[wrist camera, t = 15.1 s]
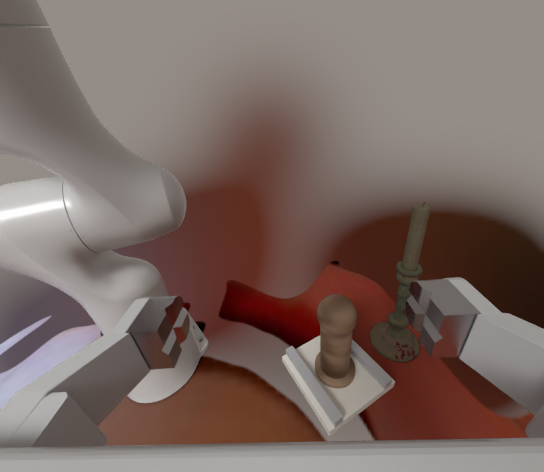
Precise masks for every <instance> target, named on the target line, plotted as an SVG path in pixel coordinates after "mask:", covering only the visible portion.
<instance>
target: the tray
mask: <svg viewBox="0 0 544 472" xmlns="http://www.w3.org/2000/svg"><path fill="white" fill-rule="evenodd" d="M319 352H320V336H318V337H316V338H314V339H313V340H311V341H309V342H307V343H305V344H304V345H302V346H300V347H298V348H297V349H294V347H293V346H291V347H289V348H287V349H286V355H284V356H282V362H283V363H284V365H285V367H286V368H287V370H288V371H289V373H290V375H291V376H292V378H293V379H294V381H295V383H296V384H297V386H298V387H299V389H300V391H301V392H302V394H303V395H304V397H305V399H306V400H307V402H308V403H309V405H310V406H311V408H312V410H313V411H314V413H315V415H316V416H317V418H318V419H319V421H320V422H321V424H322V426H323V427H324V429H325V430H326V432H327V434H328V435H329V436H331V435H332V434H333V433H335V432H336V431H337V430H339V429H340V428H341V427H342V426H344V425H345V424H346V423H348V422H349V421H350V420H351V419H353V418H354V417H355V416H357V415H358V414H359V413H361V412H362V411H363V410H364V409H366V408H367V407H368V406H370V405H371V404H372V403H373V402H375V401H376V400H377V399H379V398H380V397H381V396H382V395H384V394H385V393H386V392H388V391H389V390H390V389H392V388H393V387H394V384H395V381H394V380H393V379H392V378H391V377H390V376H389V375H388V374H387V373H386V372H385V371H384V370H383V369H382V368H381V367H380V366H379V365H378V364H377V363H376V362H375V361H374V360H373V359H372V358H371V357H370V356H369V355H368V354H367V353H366V352H365V351H364V350H363V349H362V348H361V347H360V346H359V345H358V344H357V343H356V342H355V341H354V340H353V339H352V344H351V355H350V357H351V358H352V359H353V361H354V364H355V377H354V380H353V381H352V383H351V384H350V385H348V386H347V387H344V388H339V389H338V388H332V387H329V386H327V385H325V384H324V383H323V382H322V381H321V380H320V379H319V378H318V376H317V374H316V371H315V359H316V356H317V354H318V353H319Z"/></svg>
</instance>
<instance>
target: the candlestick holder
mask: <svg viewBox="0 0 544 472" xmlns="http://www.w3.org/2000/svg"><path fill="white" fill-rule="evenodd" d="M430 208H431V207H430V206H428V205H425V202H424V203H423V204H416V205H414V206H413V211H412V216H411V221H410V226H409V232H408V237H407V242H406V247H405V252H404V258H403V261H400V262H398V264H397V266H396V267H397V270H398V273H397V275H396V278H397V280H398V281H399V282H400V283H401V284H400V285H399V289H398V291H397V295H398V300H397V304H396V311H395V312H392V313H390V314H389V315H388V320H389V322H380V323H378V324H376V325H374V326H373V327H372V329H371V331H370V341H371V344H372V345H373V347H374V348H375V349H376V350H377V351H378V353H380V354H381V355H383V356H384V357H386V358H388V359H390V360H393V361H397V362H407V361H411V360H413V359H415V358H416V357H417V356H418V354H419V351H420V346H419V342H418V340H417V338H416V336H415V335H414V334H413V333H412V332H411V331H410V330H409V329H407V328H406V326H407V325H408V323H409V321H408V318H407V317H406V316H405V315H404V310H405V306H406V300H407V299H408V298H409V297H410V291H409V287H410V284H411V282H412V281H418V275H420V274H421V273H422V267H421V266H420V265H419V264H418V260H419V256H420V252H421V247H422V243H423V239H424V234H425V230H426V226H427V221H428V217H429V213H430Z"/></svg>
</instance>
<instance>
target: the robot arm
mask: <svg viewBox="0 0 544 472" xmlns="http://www.w3.org/2000/svg"><path fill="white" fill-rule="evenodd" d="M31 26H32V27H31ZM34 26H48V23H47V21H46V19H45V17H44V14H43V12H42V10H41V8H40V6H39V4H38V2H37V0H0V153H2V154H7V155H11V156H16V157H19V158H22V159H25V160H28V161H31V162H33V163H36V164H38V165H40V166H42V167H44V168H46V169H48V170H49V171H51V172H53V173H54V174H56V175H57V176H54V177H48V178H41V179H35V180H28V181H22V182H15V183H9V184H5V185H2V186H0V270H4V271H9V272H14V273H19V274H23V275H26V276H30V277H32V278H35V279H38V280H41V281H43V282H45V283H48V284H50V285H52V286H54V287H56V288H58V289H60V290H62V291H63V292H65V293H67V294H68V295H70V296H72V297H73V298H74V299H75V300H77V301H78V302H79V303H80V304H81V305H82V306H83V307H84V308H85V310H86V311H87V312H88V314H89V315H90V316H91V318H92V319H93V320H94V322H95V323H96V325H97V326H98V327H99V329H100V330H101V337H100V338H99V339H97V340H96V341H94V342H93V343H91V344H90V345H88V346H87V347H85V348H84V349H82V350H81V351H79V352H77V353H76V354H74V355H73V356H71V357H70V358H68V359H67V360H65V361H64V362H62V363H61V364H59V365H58V366H56V367H55V368H53V369H52V370H50V371H49V372H47V373H46V374H44V375H43V376H41V377H39V378H38V379H36V380H35V381H33V382H32V383H30V384H29V385H27V386H26V387H24V388H23V389H21V390H20V391H18V392H17V393H16V394H15V395H14V396H13V397H12V398H11V399H10V400H9V402H8V403H7V404H6V405H5V406H4V407H3V408H2V409H1V410H0V472H544V329H542V328H540V327H538V326H536V325H533V324H531V323H529V322H526V321H524V320H522V319H520V318H518V317H515V316H513V315H511V314H509V313H501V312H500V311H499V310H498V309H497V308H496V307H495V306H494V305H492V304H491V303H490V302H489V301H488V300H487V299H486V298H485V297H484V296H483V295H482V294H480V293H479V292H478V291H477V290H476V289H475V288H474V287H473V286H472V285H470V284H469V283H468V282H467V281H466V280H465V279H463V278H460V277H458V278H445V279H435V280H421V281H412V282H411V284H410V287H409V291H410V293H411V294H412V295H411V296H410V297H409V298H408V299H407V300H406V306H405V309H406V316H407V318H408V321H409V323H410V325H411V326H412V328H414V329H415V330H417V331H418V332H420V333H421V334H420V338H419V339H420V341H421V343H422V344H423V346H424V348H425V349H426V351H427V352H428V354H429V356H430V357H460V359H461V360H462V361H464V362H465V363H466V364H468V365H469V366H470V367H471V368H473V369H474V370H476V371H477V372H478V373H479V374H481V375H482V376H483V377H485V378H486V379H487V380H489V381H490V382H491V383H493V384H494V385H495V386H496V387H498V388H499V389H500V390H502V391H503V392H504V393H506V394H507V395H508V396H510V397H511V398H512V399H514V400H515V401H516V402H518V403H519V404H520V405H521V406H523V407H524V408H525V409H527V410H528V411H529V412H531V413H532V414H533V415H535V416H534V418H533V419H532V420H531V421H530V423H529V424H528V425H527V426H526V430H525V433H526V435H527V436H528V437H529V438H493V439H439V440H385V441H335V442H333V441H331V442H278V443H226V444H174V445H123V446H105V444H106V442H107V439H106V436H105V435H104V434H103V432H102V431H101V430H100V429H99V428H98V427H97V426H98V425H99V424H100V423H101V422H102V421H103V420H104V419H105V418H106V417H107V416H108V415H109V414H110V413H111V412H112V411H113V410H114V409H115V408H116V407H117V406H118V405H119V404H120V402H121V401H122V400H123V399H124V398H125V397H126V396H128V397H129V398H131V399H132V400H134V401H136V402H139V403H151V402H156V401H159V400H162V399H164V398H166V397H168V396H170V395H172V394H173V393H175V392H176V391H177V390H179V389H180V388H181V387H182V386H183V385H184V384H185V383H186V382H187V381H188V380H189V379H190V377H191V376H192V374H193V373H194V371H195V369H196V367H197V365H198V362H199V360H200V358H201V356H202V355H203V354H204V353H205V352H206V350H207V349H208V347H209V342H208V340H207V339H206V337H205V336H204V334H203V333H202V331H201V330H200V329H199V327H198V326H197V324H196V323H195V321H194V320H193V319H192V317H191V316H190V314H189V313H188V311H187V310H186V309H185V308H182V307H183V305H184V302H183V300H182V298H181V297H180V296H168V293H167V291H166V288H165V286H164V283H163V281H162V278H161V276H160V273H159V271H158V270H157V269H156V268H155V267H154V266H153V265H152V264H150V263H149V262H147V261H145V260H142V259H138V258H131V257H125V256H122V255H119V254H117V253H115V252H113V251H111V250H112V249H116V248H121V247H125V246H128V245H133V244H137V243H141V242H146V241H149V240H152V239H154V238H157V237H159V236H161V235H164V234H166V233H168V232H170V231H173V230H175V229H177V228H178V227H179V226H180V224H181V223H182V221H183V219H184V216H185V212H186V198H185V194H184V191H183V189H182V187H181V185H180V183H179V182H178V180H177V179H176V178H175V177H174V176H173V175H172V174H171V173H170V172H169V171H167V170H166V169H165V168H163V167H161V166H159V165H156V164H153V163H151V162H149V161H147V160H145V159H143V158H141V157H140V156H138V155H136V154H134V153H133V152H132V151H130V150H129V149H127V148H126V147H125V146H124V145H122V144H121V143H120V142H119V141H118V140H117V139H116V138H115V137H114V136H113V135H111V133H109V131H108V130H107V129H106V128H105V127H104V126H103V125H102V123H101V122H100V121H99V120H98V118H97V117H96V115H95V114H94V112H93V111H92V109H91V107H90V106H89V104H88V102H87V100H86V99H85V97H84V95H83V93H82V92H81V90H80V88H79V86H78V84H77V82H76V80H75V78H74V77H73V75H72V73H71V71H70V69H69V67H68V65H67V63H66V61H65V59H64V57H63V55H62V53H61V50H60V49H59V46H58V44H57V42H56V40H55V38H54V36H53V33H52V31H51V29H50V28H39V27H37V28H36V27H34ZM200 341H202V342H200Z"/></svg>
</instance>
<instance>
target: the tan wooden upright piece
mask: <svg viewBox="0 0 544 472" xmlns="http://www.w3.org/2000/svg"><path fill="white" fill-rule="evenodd" d="M317 318H318V321H319V323H320V352H319V353H318V354H317V356H316V359H315V371H316V374H317V376H318V378H319V379H320V380H321V381H322V382H323V383H324V384H325V385H327V386H329V387H332V388H338V389H339V388H344V387H347V386H348V385H350V384H351V383H352V381H353V380H354V377H355V364H354V361H353V359H352V358H351V357H350V355H351V344H352V333H353V328H354V327H355V325H356V323H357V311H356V308H355V306H354V304H353V303H352V302H351V301H350V300H349V299H348V298H346V297H344V296H342V295H329V296H327V297H325V298H324V299H323V300H322V301H321V302H320V304H319V306H318V309H317Z"/></svg>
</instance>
